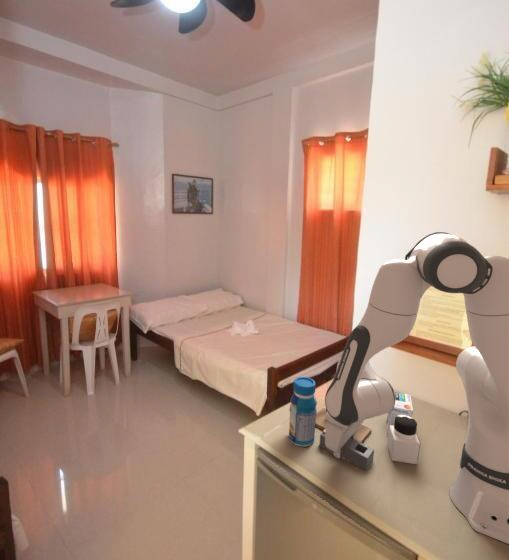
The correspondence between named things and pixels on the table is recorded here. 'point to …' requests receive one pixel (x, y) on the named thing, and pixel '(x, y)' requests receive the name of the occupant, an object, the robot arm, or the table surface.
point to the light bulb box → (400, 408)
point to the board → (321, 421)
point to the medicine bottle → (403, 440)
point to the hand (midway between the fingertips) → (344, 447)
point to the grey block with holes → (353, 451)
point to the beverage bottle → (303, 412)
